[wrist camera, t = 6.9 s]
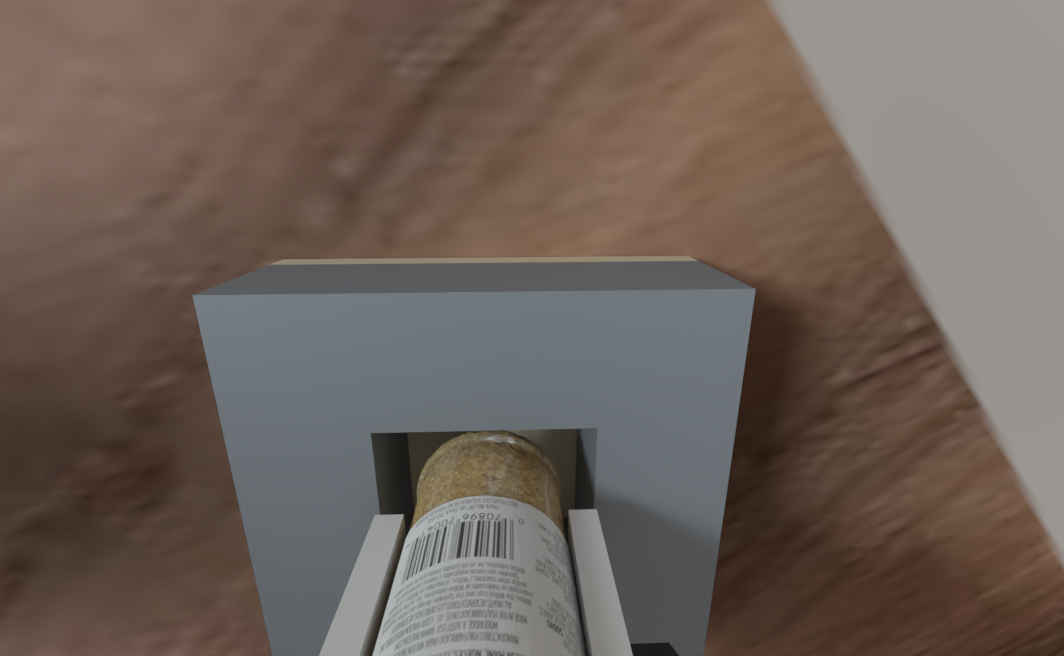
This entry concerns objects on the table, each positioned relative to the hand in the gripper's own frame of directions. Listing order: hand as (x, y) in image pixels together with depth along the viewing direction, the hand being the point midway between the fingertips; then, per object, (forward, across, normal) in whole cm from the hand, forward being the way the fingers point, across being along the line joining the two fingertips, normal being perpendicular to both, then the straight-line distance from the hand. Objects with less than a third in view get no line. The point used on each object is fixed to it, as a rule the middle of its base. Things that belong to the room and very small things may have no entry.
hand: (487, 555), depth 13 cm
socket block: (+6, 0, 0) cm, 6 cm away
